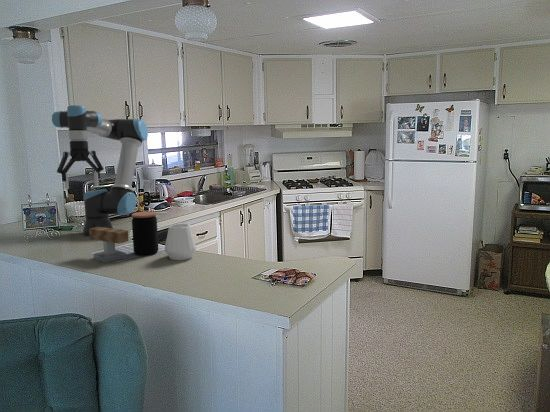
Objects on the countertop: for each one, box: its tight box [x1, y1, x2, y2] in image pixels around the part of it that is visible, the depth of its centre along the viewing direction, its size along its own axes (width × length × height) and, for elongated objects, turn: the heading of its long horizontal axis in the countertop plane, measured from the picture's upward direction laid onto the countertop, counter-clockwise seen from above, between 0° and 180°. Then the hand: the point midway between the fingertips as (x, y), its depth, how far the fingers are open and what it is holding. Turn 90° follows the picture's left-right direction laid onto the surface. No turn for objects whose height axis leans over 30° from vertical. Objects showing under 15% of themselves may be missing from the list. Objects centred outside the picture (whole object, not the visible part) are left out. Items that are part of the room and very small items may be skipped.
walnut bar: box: [89, 227, 129, 244], centre depth 195 cm, size 18×5×4 cm, turn 60°
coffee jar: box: [131, 211, 159, 257], centre depth 203 cm, size 11×11×18 cm
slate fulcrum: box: [93, 241, 127, 264], centre depth 196 cm, size 10×10×8 cm
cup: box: [164, 223, 197, 261], centre depth 196 cm, size 13×13×14 cm
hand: (82, 187), depth 209 cm, fingers open, 13 cm apart
